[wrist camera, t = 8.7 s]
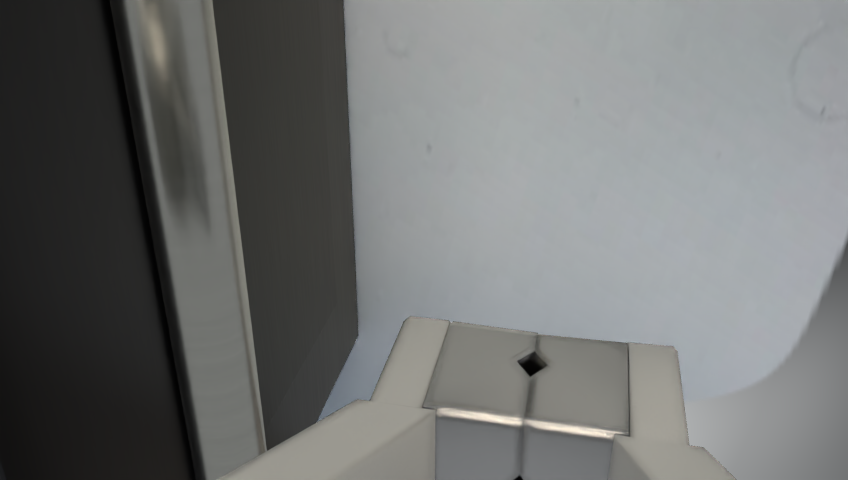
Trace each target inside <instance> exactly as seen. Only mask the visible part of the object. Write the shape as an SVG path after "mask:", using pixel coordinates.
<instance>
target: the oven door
mask: <svg viewBox="0 0 848 480" xmlns="http://www.w3.org/2000/svg"><path fill="white" fill-rule="evenodd" d="M357 337H358V315H357V293H356V271H355V249H354V227H353V206H352V184H351V162H350V140H349V118H348V96H347V75H346V53H345V31H344V9H343V0H0V480H217V479H219V478H221V477H223V476H224V475H226V474H228V473H230V472H231V471H233V470H235V469H236V468H238V467H240V466H242V465H243V464H245V463H247V462H249V461H250V460H252V459H254V458H256V457H257V456H259V455H261V454H263V453H264V452H266V451H268V450H270V449H271V448H273V447H275V446H277V445H278V444H280V443H282V442H284V441H285V440H287V439H289V438H290V437H292V436H294V435H296V434H297V433H299V432H301V431H303V430H304V429H306V428H308V427H310V426H311V425H313V424H315V423H316V422H317V420H318V418H319V416H320V414H321V412H322V410H323V408H324V406H325V404H326V401H327V399H328V397H329V395H330V393H331V391H332V389H333V387H334V385H335V383H336V381H337V379H338V377H339V375H340V373H341V370H342V368H343V366H344V364H345V362H346V360H347V358H348V356H349V354H350V352H351V350H352V348H353V346H354V344H355V341H356V339H357Z"/></svg>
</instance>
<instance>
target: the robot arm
mask: <svg viewBox="0 0 848 480" xmlns="http://www.w3.org/2000/svg"><path fill="white" fill-rule="evenodd" d="M217 480H736V479H735V478H734V477H733V476H732V475H731V474H730V473H729V472H728V471H727V470H726V469H725V468H724V467H723V466H722V465H721V464H720V463H719V462H718V461H717V460H716V459H715V458H714V457H713V456H712V455H711V454H710V453H709V452H708V451H707V450H706V449H705V448H703V447H696V446H690V445H689V439H688V431H687V423H686V415H685V407H684V400H683V392H682V384H681V376H680V368H679V361H678V353H677V350H676V349H675V348H674V347H673V346H665V345H653V344H641V343H629V342H627V343H622V342H612V341H602V340H592V339H582V338H572V337H561V336H551V335H541V334H538V333H535V332H528V331H520V330H513V329H506V328H499V327H491V326H484V325H477V324H470V323H462V322H455V321H453V322H452V323H451V322H450V321H449V320H441V319H432V318H423V317H414V316H410V317H409V318H407V319H406V320H405V321H404V322H403V324H402V327H401V329H400V331H399V334H398V336H397V338H396V340H395V343H394V345H393V347H392V350H391V352H390V354H389V357H388V359H387V361H386V364H385V366H384V368H383V371H382V373H381V375H380V378H379V380H378V382H377V385H376V387H375V389H374V392H373V394H372V396H371V399H370V401H367V400H360V399H357V400H355V401H353V402H351V403H350V404H348V405H346V406H344V407H343V408H341V409H339V410H337V411H336V412H334V413H332V414H331V415H329V416H327V417H325V418H324V419H322V420H320V421H318V422H317V423H315V424H313V425H311V426H310V427H308V428H306V429H304V430H303V431H301V432H299V433H297V434H296V435H294V436H292V437H290V438H289V439H287V440H285V441H284V442H282V443H280V444H278V445H277V446H275V447H273V448H271V449H270V450H268V451H266V452H264V453H263V454H261V455H259V456H257V457H256V458H254V459H252V460H250V461H249V462H247V463H245V464H243V465H242V466H240V467H238V468H236V469H235V470H233V471H231V472H230V473H228V474H226V475H224V476H223V477H221V478H219V479H217Z"/></svg>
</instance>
